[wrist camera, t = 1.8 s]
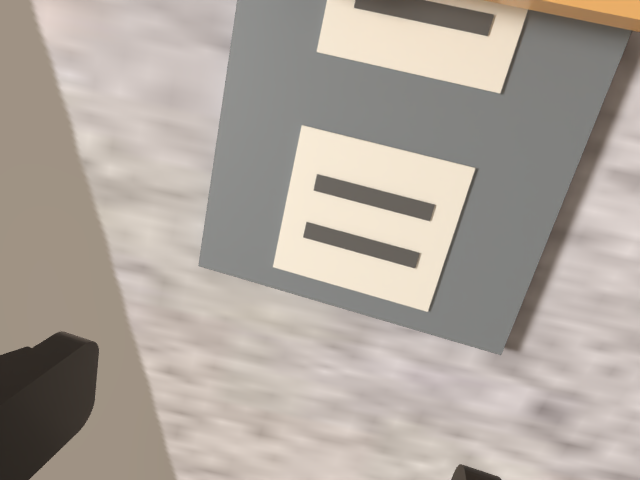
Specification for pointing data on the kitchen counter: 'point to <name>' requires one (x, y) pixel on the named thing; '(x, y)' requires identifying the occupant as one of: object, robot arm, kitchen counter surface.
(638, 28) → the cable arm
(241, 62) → the label board
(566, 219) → the kitchen counter surface
